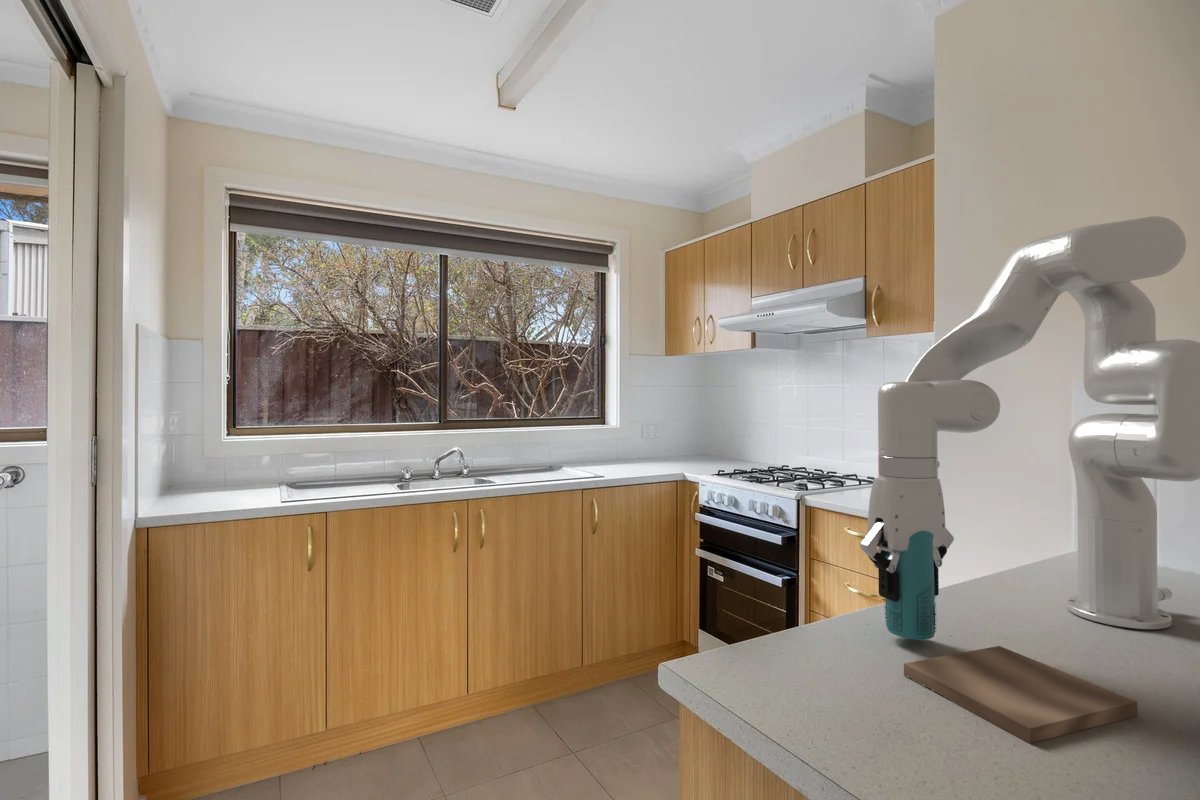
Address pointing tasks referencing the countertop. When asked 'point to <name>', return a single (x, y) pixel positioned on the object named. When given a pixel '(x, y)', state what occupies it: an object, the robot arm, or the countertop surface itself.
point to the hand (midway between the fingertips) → (908, 594)
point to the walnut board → (1020, 693)
